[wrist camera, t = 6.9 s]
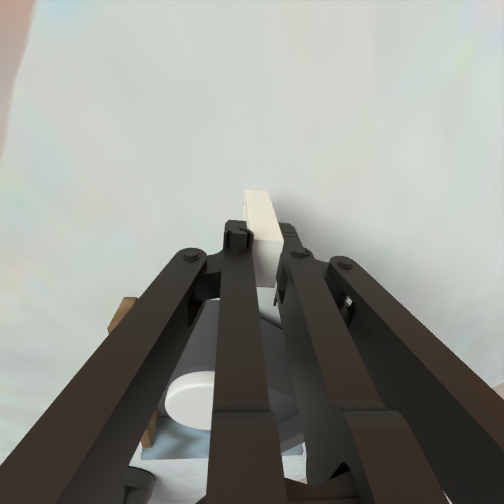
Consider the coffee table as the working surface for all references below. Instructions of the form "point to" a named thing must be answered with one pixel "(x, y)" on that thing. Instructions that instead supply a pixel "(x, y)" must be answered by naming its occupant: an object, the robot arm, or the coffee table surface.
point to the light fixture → (203, 372)
